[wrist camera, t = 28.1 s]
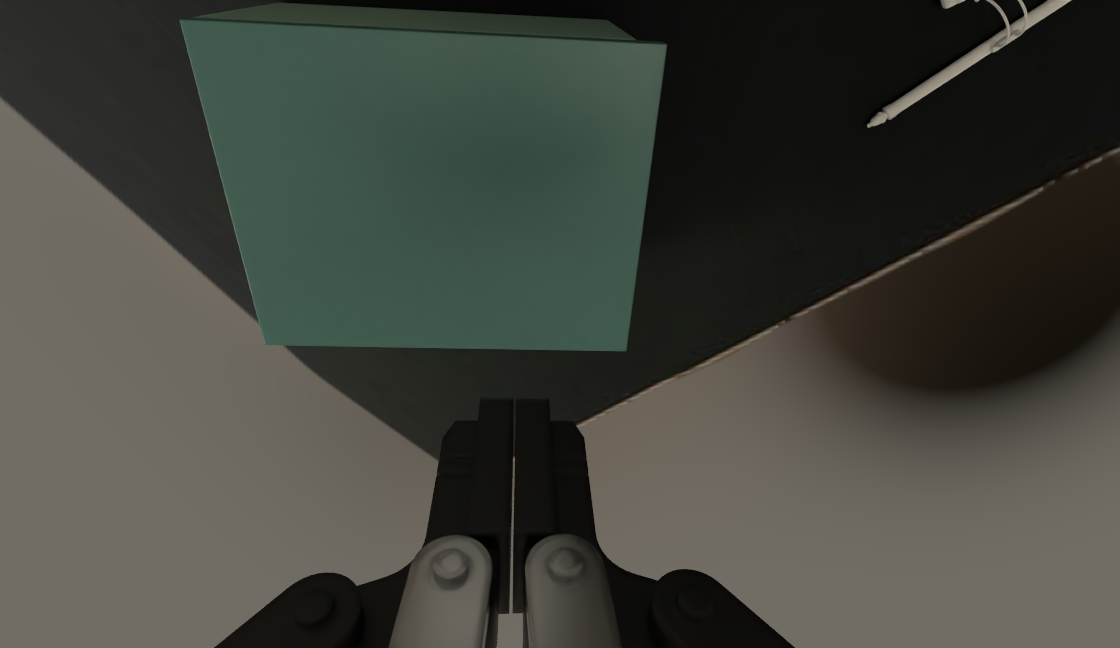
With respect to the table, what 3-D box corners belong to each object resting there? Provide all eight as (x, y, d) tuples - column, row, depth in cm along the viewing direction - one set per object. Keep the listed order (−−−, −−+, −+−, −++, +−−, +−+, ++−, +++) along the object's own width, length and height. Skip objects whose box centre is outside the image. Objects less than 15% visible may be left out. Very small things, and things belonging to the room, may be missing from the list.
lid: (663, 41, 21) (667, 43, 20) (624, 342, 28) (626, 351, 27) (190, 17, 20) (178, 19, 19) (271, 335, 27) (264, 345, 26)
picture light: (866, 130, 32) (886, 140, 30) (836, 61, 30) (856, 67, 28) (1142, -51, 28) (1185, -52, 26) (1129, -145, 26) (1174, -153, 24)
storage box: (608, 19, 28) (637, 39, 21) (588, 263, 35) (604, 338, 28) (276, 2, 27) (191, 16, 20) (323, 257, 34) (271, 335, 27)
